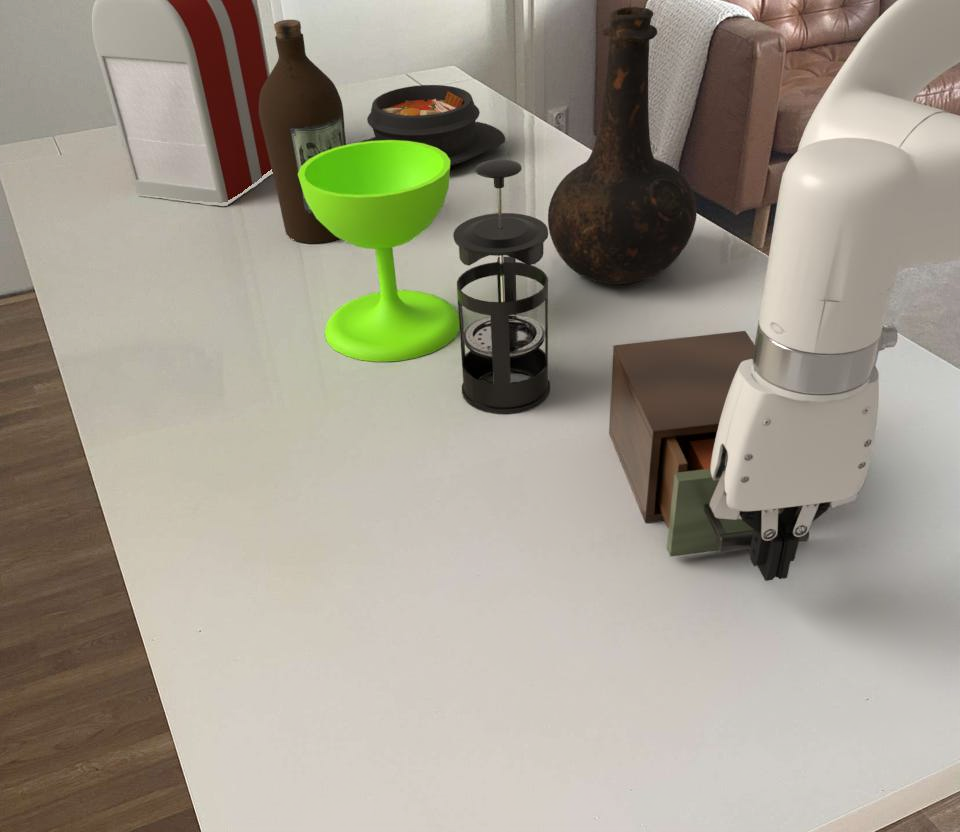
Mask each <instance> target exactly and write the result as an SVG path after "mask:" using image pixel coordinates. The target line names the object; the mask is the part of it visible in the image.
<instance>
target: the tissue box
mask: <svg viewBox="0 0 960 832" xmlns="http://www.w3.org/2000/svg"><path fill="white" fill-rule="evenodd" d="M258 13H259V12H258V10H257V6H256V4H255V1H254V0H95V1H94V4H93V6H92V14H91V29H92V30H91V33H92V38H93V44H94V47H95V52H96V55H97V59H98V64H99V66H100V69H101V73H102V77H103V81H104V84H105V87H106V90H107V94H108V97H109V101H110V105H111V108H112V112H113V115H114V116H113V117H114V119H115V122H116V126H117V129H118V132H119V133H118V134H119V137H120V140H121V143H122V147H123V150H124V154H125V158H126V161H127V165H128V169H129V172H130V176H131V179H132V182H133V186H134V190H135V192H136V195H137V194H140V195H148V196H149V195H150V196H159V197H166V198H174V199H175V198H176V199H181V200H190V201H191V200H192V201H203V202H218V203H223V202H228V200H230V199H232V198H233V197H235V196H237V195H238V194H240V193H242V192H243V191H244V190H245V189H247V188H248V187H249V186H251V185H252V184H254V183H255V182H257V181H258V180H259V179H260V178H262V176H263V175H264V174H266V173H267V172H268V171H270V170H271V169H272V168H271V164H270V159H269V155H268V151H267V147H266V142H265V138H264V134H263V130H262V126H261V122H260V117H259V98H260V92H261V89H262V87H263V85H264V83H265V82H266V80H267V78H268V77H269V75H270V73H269V67H268V61H267V55H266V49H265V45H264V38H263V33H262V28H261V27H262V26H261V22H260V17H259V14H258Z"/></svg>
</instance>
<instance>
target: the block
mask: <svg viewBox="0 0 960 832" xmlns="http://www.w3.org/2000/svg"><path fill="white" fill-rule="evenodd" d="M715 439H716V438H714V439H706V440H697V441H690V445H689V454H688V465H687V471H695V470H703V469H711V459H712V453H713V448H714V443H715Z"/></svg>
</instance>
